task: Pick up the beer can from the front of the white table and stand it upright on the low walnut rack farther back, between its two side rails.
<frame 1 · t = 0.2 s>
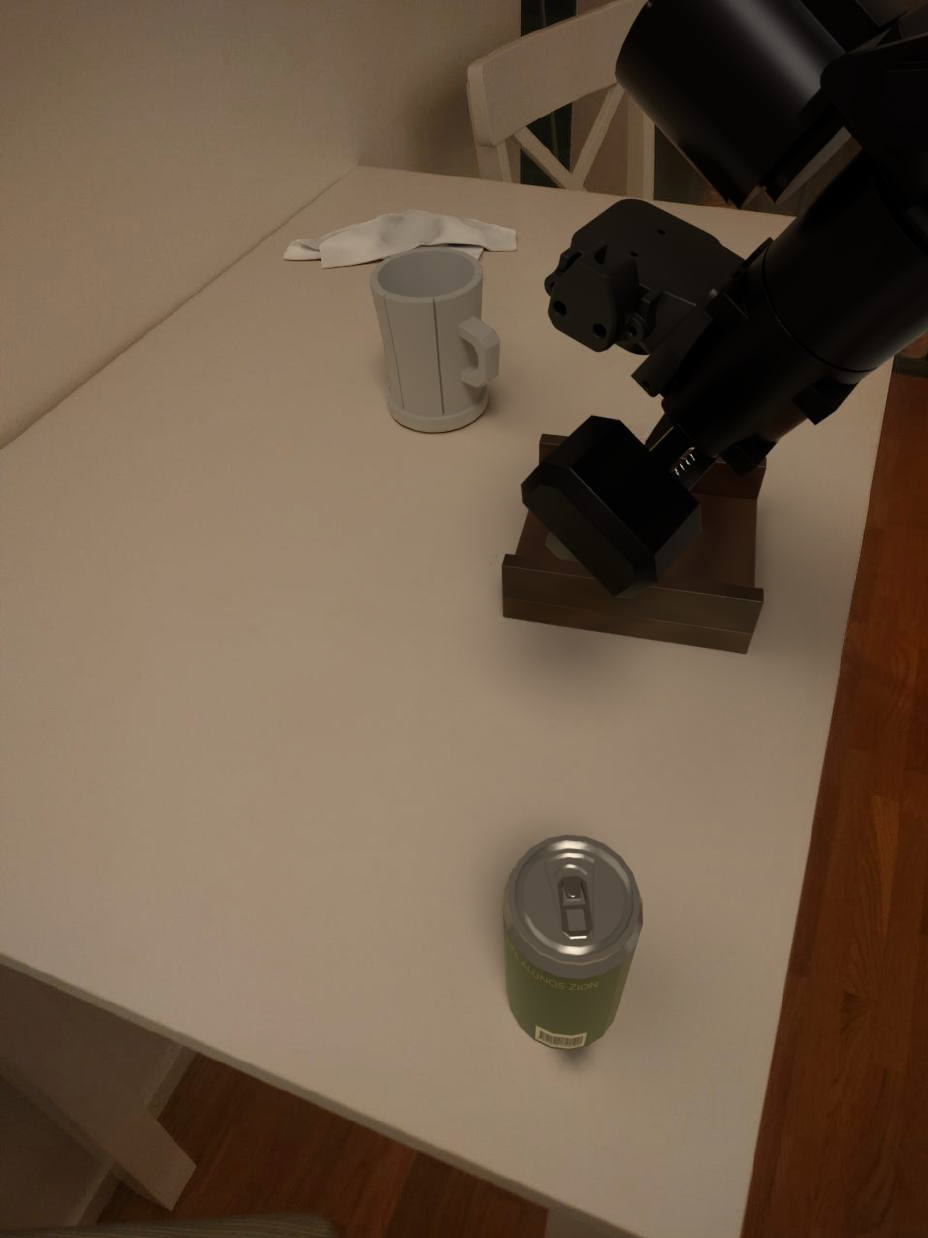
hand: (605, 497, 42), 14 cm above the table, tool tilted 30°, fingers open, 9 cm apart
rack: (633, 561, 58), on the table
cloth: (405, 243, 93), on the table
beer can: (562, 994, 40), on the table
cup: (447, 407, 72), on the table
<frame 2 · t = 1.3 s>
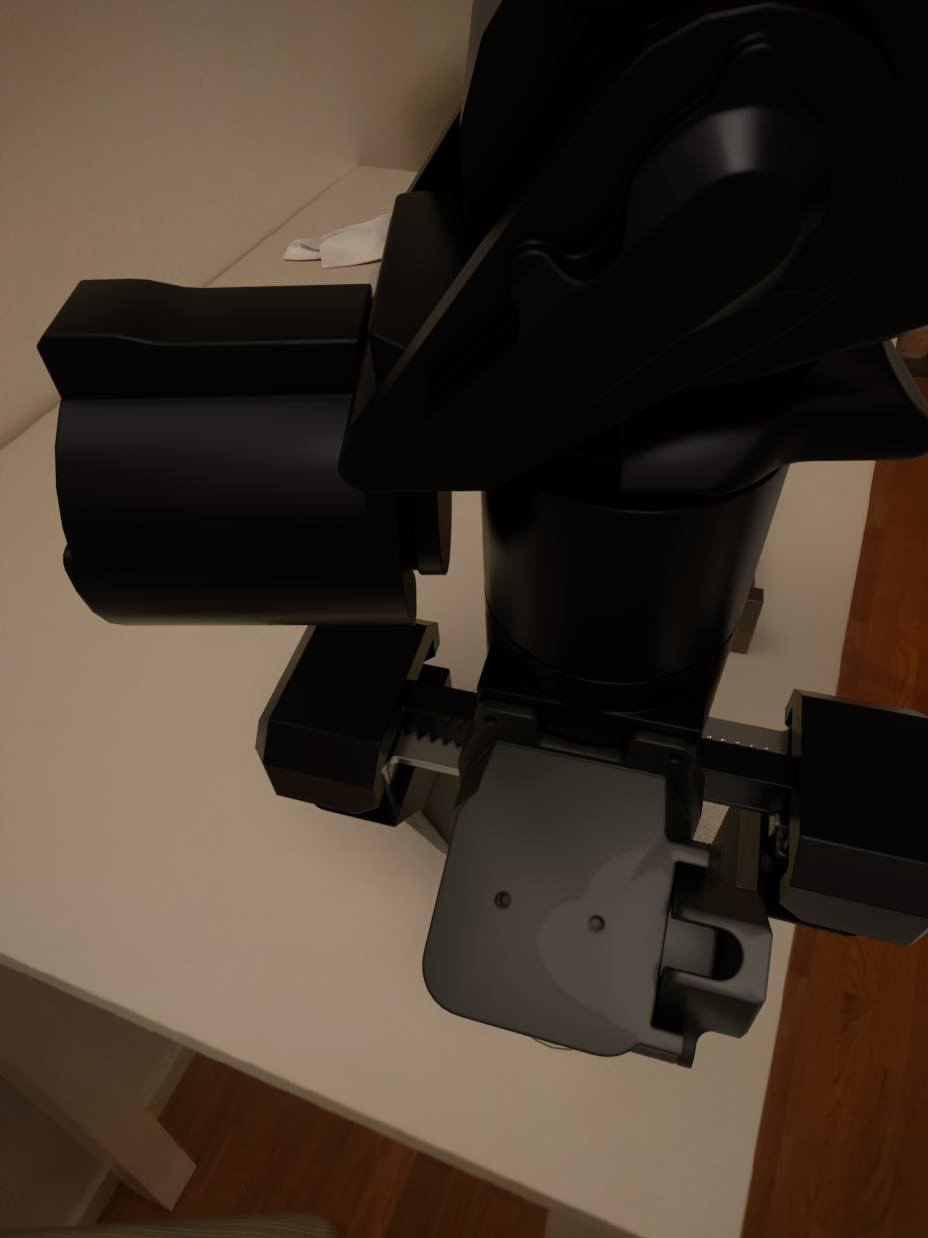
hand: (572, 872, 30), 13 cm above the table, tool pointing down, fingers open, 9 cm apart
nothing on the table moved.
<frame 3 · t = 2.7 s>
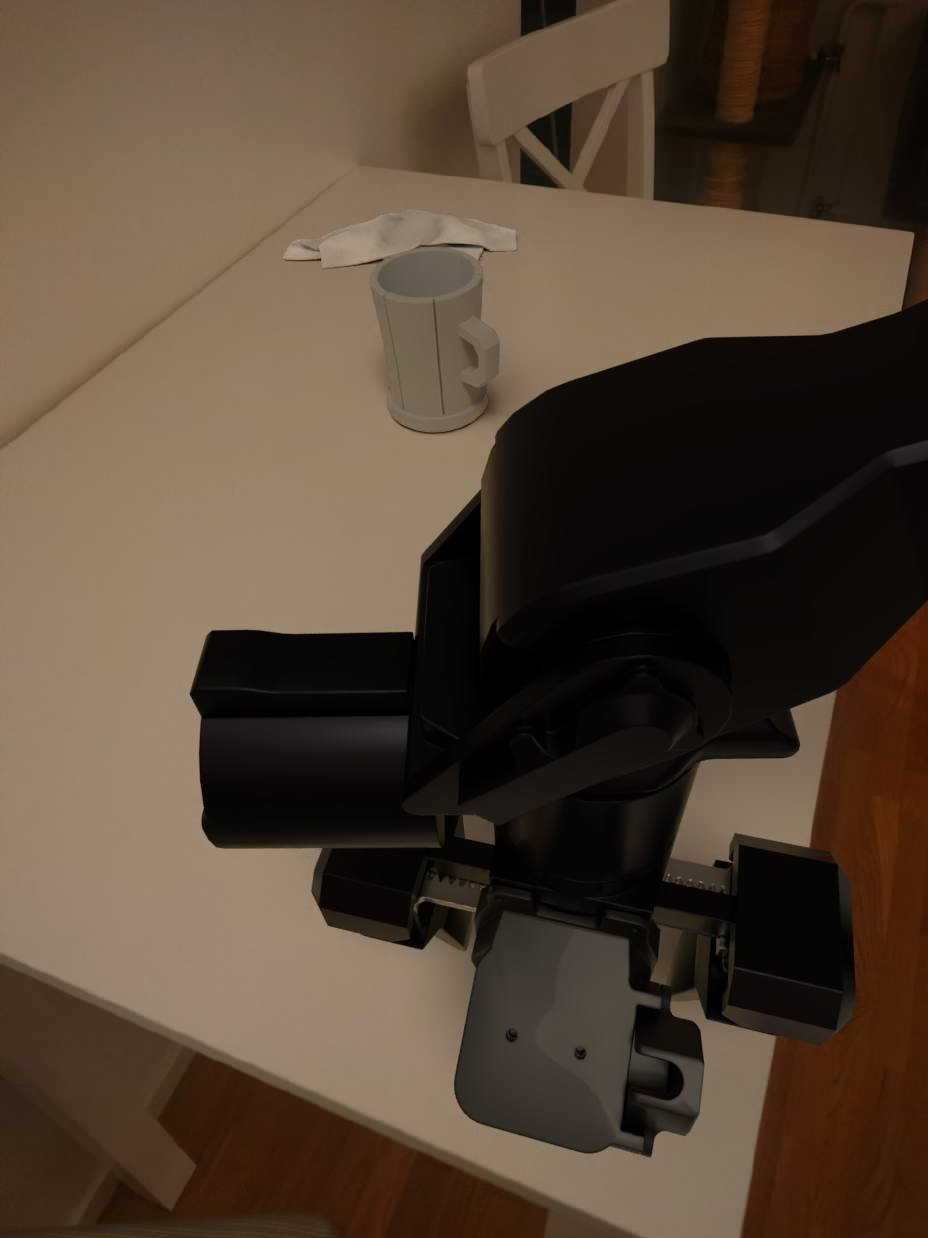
hand: (565, 964, 37), 4 cm above the table, tool pointing down
beer can: (562, 994, 40), on the table, touching gripper
everything else where it was.
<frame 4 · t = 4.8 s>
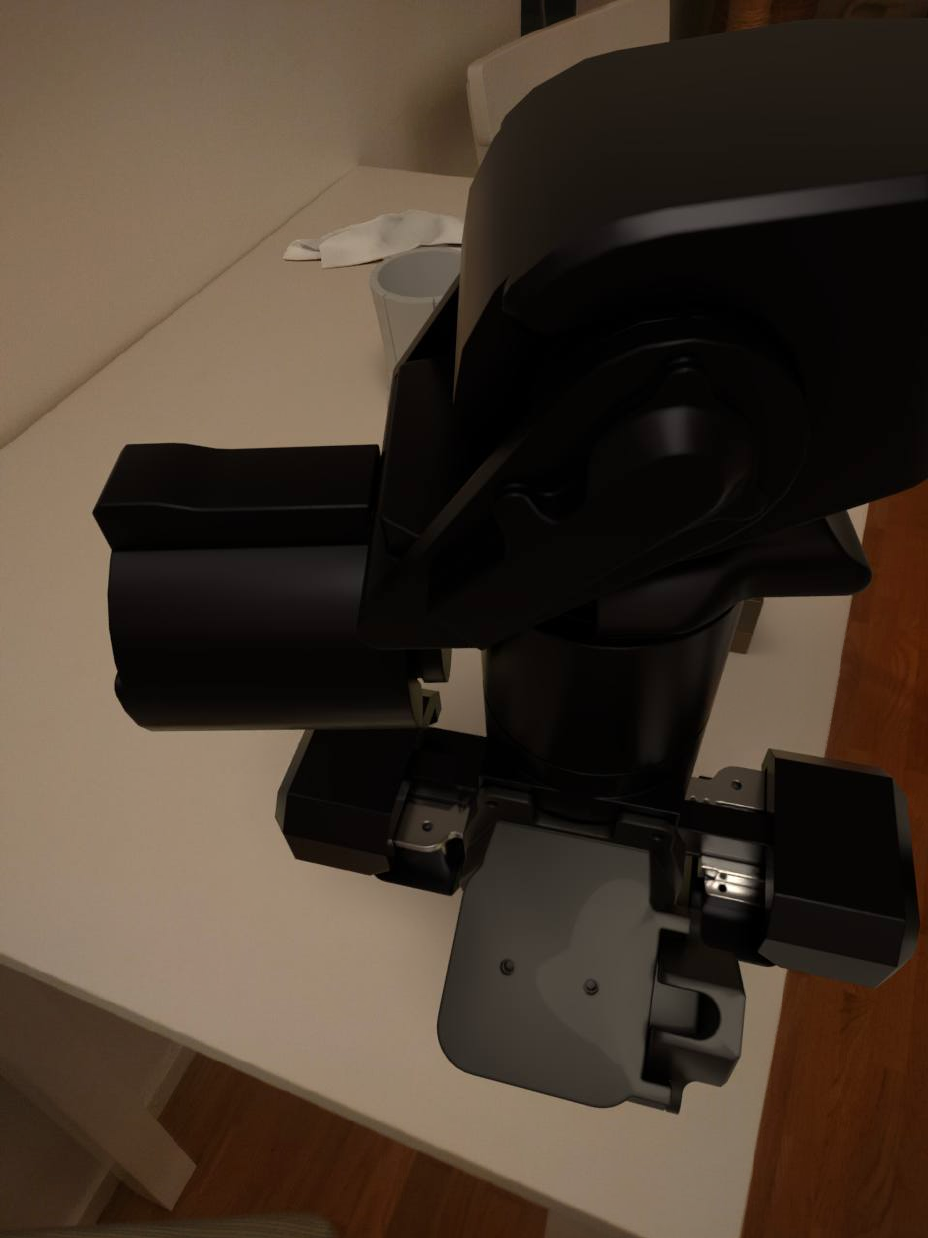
hand: (570, 913, 32), 10 cm above the table, tool pointing down, fingers closed on beer can, 6 cm apart
beer can: (581, 956, 36), point 5 cm above the table, touching gripper
everything else where it was.
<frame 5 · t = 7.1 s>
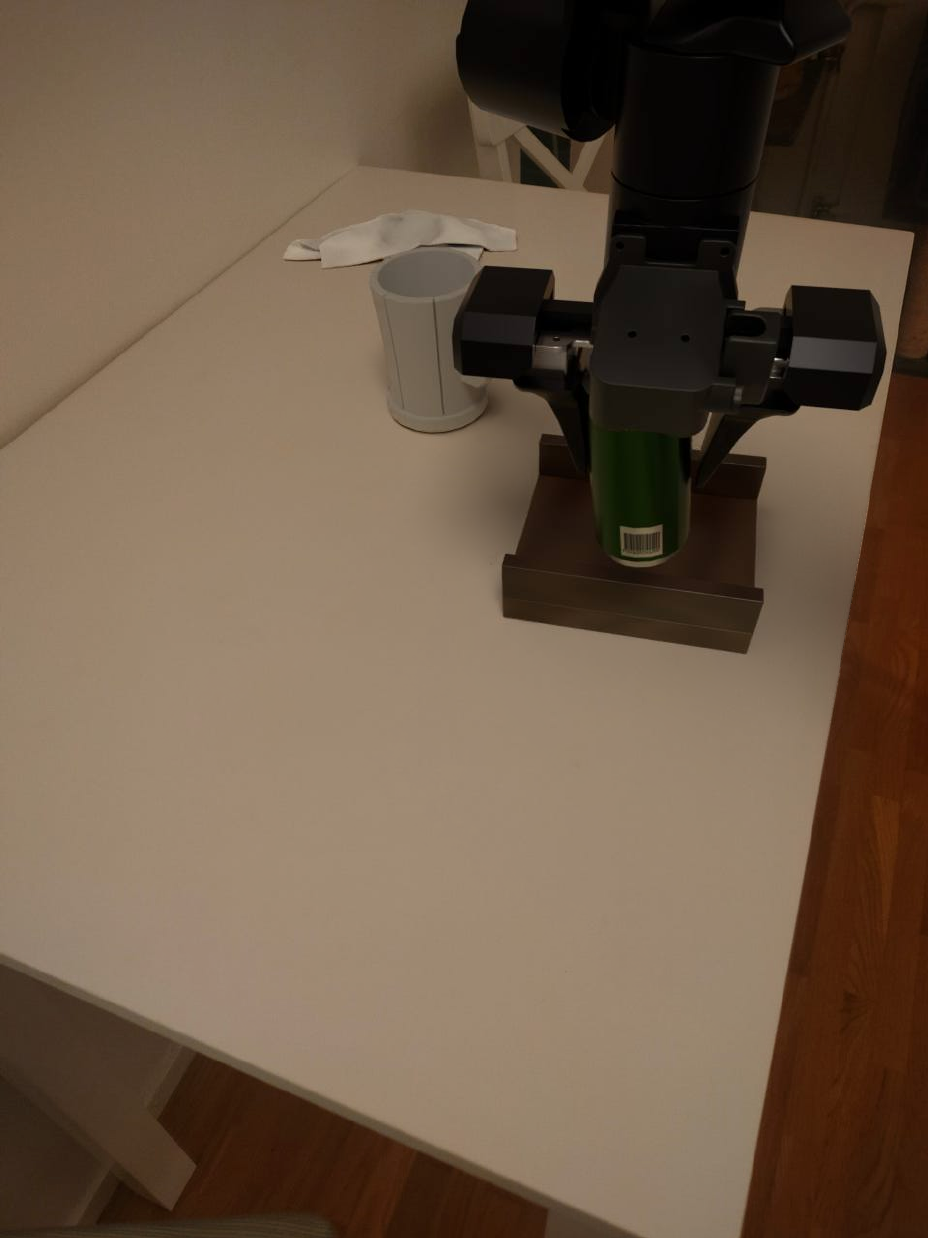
hand: (640, 476, 44), 13 cm above the table, tool pointing down, fingers closed on beer can, 6 cm apart
beer can: (642, 540, 48), point 8 cm above the table, touching gripper
everything else where it was.
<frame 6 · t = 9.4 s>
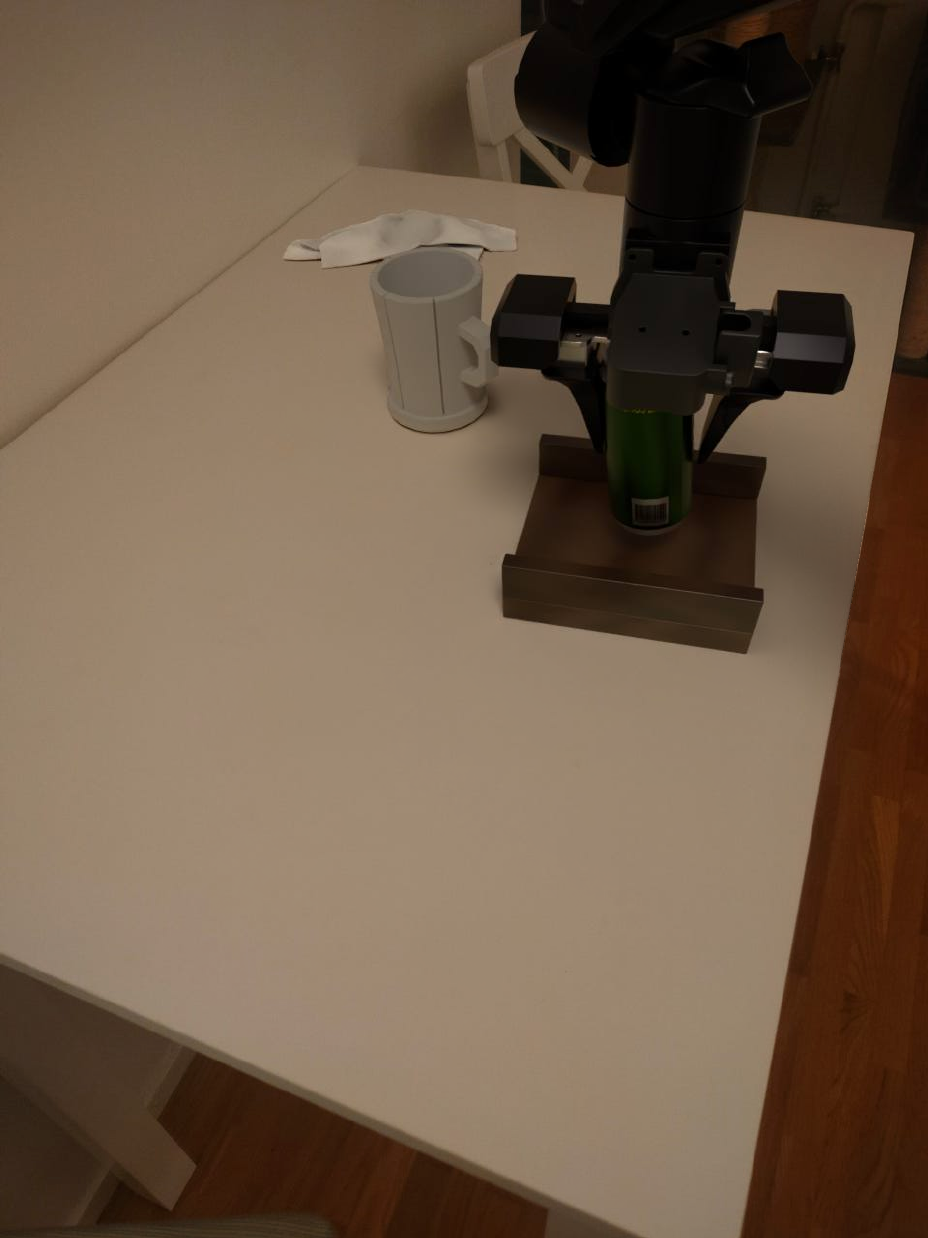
hand: (649, 455, 51), 9 cm above the table, tool pointing down, fingers closed on beer can, 6 cm apart
beer can: (651, 513, 55), point 5 cm above the table, touching gripper
everything else where it was.
when the fingers open (7 cm above the table, at t = 11.2 s): beer can stays where it is, resting on rack.
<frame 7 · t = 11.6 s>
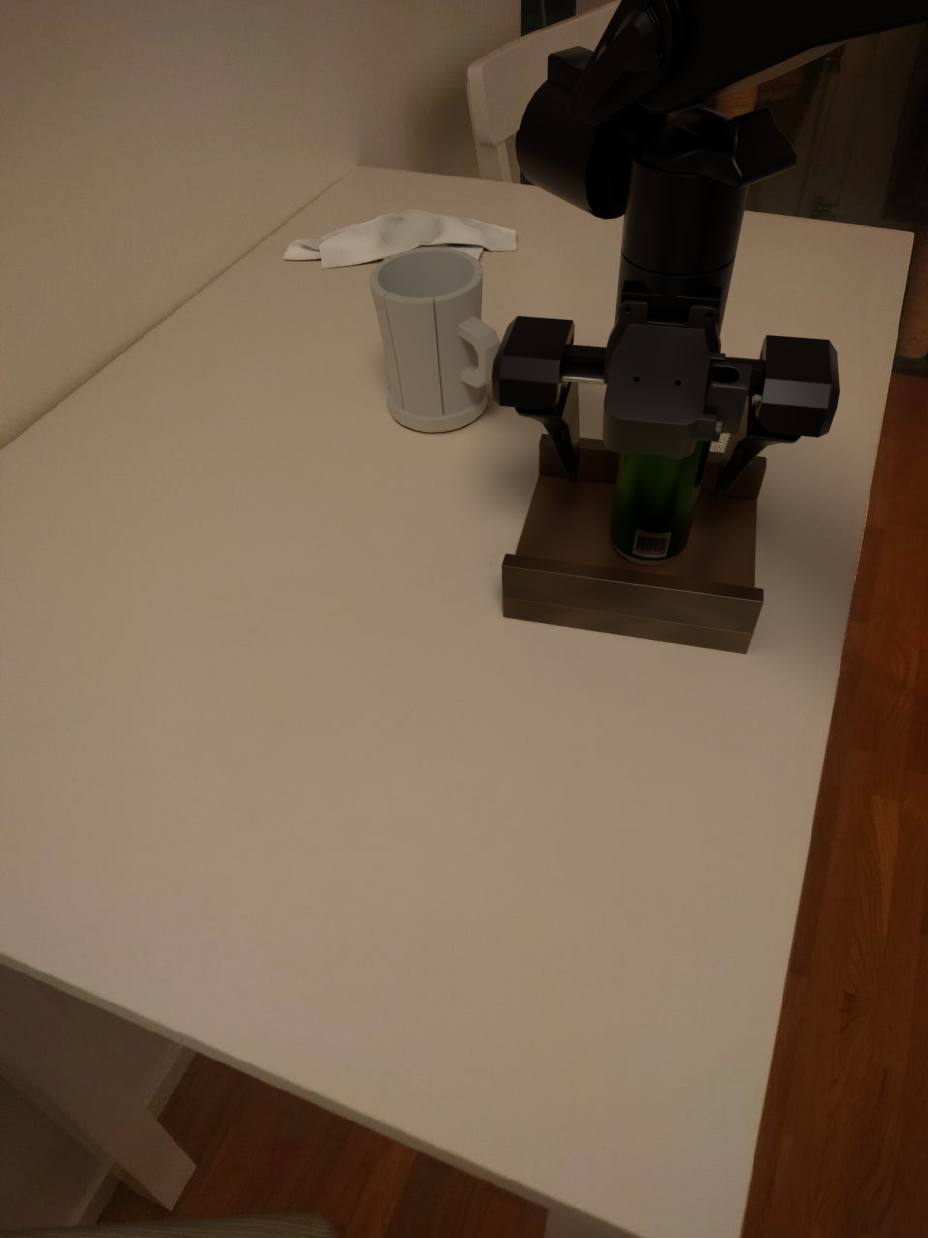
hand: (644, 487, 53), 7 cm above the table, tool pointing down, fingers open, 9 cm apart
beer can: (646, 543, 57), point 2 cm above the table, touching rack
everything else where it was.
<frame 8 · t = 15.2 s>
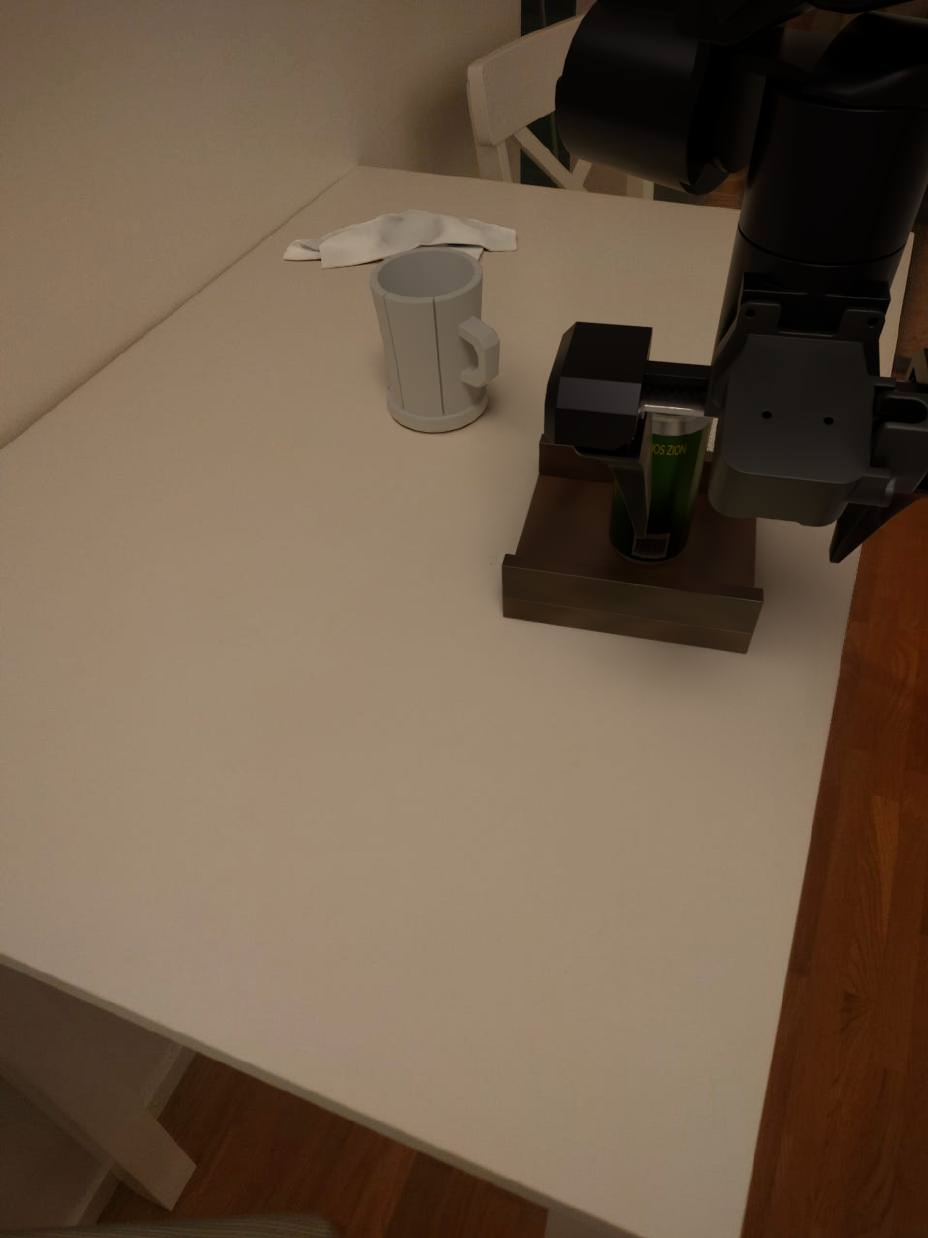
hand: (735, 544, 41), 13 cm above the table, tool pointing down, fingers open, 9 cm apart
nothing on the table moved.
at the end: beer can inside the target area on the rack (0.7 cm from its centre), point 1.8 cm above the rack's base; beer can tilted 0°; the gripper is holding nothing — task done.
